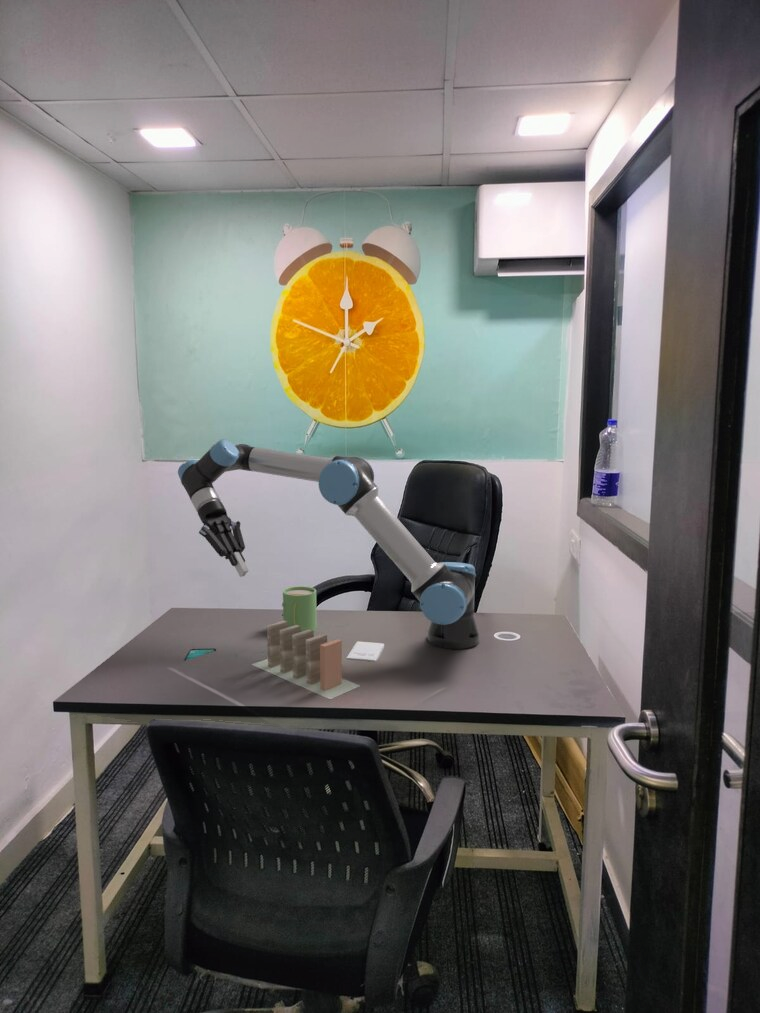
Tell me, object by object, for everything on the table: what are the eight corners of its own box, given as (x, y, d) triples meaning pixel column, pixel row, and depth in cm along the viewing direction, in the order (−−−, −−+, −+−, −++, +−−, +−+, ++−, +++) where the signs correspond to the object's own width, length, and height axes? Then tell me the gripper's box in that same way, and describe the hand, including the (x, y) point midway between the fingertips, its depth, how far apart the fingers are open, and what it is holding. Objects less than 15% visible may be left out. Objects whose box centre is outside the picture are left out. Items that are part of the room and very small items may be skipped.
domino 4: (306, 682, 157) (305, 639, 156) (323, 675, 162) (322, 633, 160) (310, 684, 156) (310, 641, 155) (327, 677, 160) (327, 635, 159)
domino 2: (280, 671, 164) (279, 630, 162) (297, 665, 168) (296, 624, 166) (284, 673, 163) (283, 631, 161) (301, 667, 167) (300, 626, 165)
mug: (287, 622, 204) (287, 585, 202) (319, 624, 202) (319, 587, 200) (275, 636, 191) (275, 597, 189) (310, 638, 190) (309, 598, 188)
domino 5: (320, 688, 154) (320, 645, 152) (337, 681, 158) (337, 638, 157) (324, 690, 153) (324, 646, 151) (341, 683, 157) (341, 640, 155)
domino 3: (293, 677, 161) (292, 634, 159) (309, 670, 165) (309, 629, 163) (297, 678, 160) (296, 636, 158) (314, 672, 164) (313, 630, 162)
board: (251, 666, 169) (251, 664, 169) (281, 655, 176) (281, 653, 176) (330, 701, 149) (330, 699, 149) (360, 688, 156) (360, 685, 156)
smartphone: (178, 670, 165) (190, 648, 180) (178, 673, 165) (190, 651, 180) (206, 669, 166) (216, 648, 180) (206, 672, 166) (216, 650, 181)
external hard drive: (384, 648, 183) (375, 665, 171) (356, 646, 185) (345, 662, 173) (384, 643, 183) (375, 659, 171) (356, 641, 185) (345, 657, 173)
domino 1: (267, 666, 167) (267, 625, 166) (284, 660, 172) (284, 620, 170) (271, 667, 166) (271, 627, 165) (288, 661, 170) (288, 621, 169)
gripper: (223, 512, 194) (257, 577, 185) (184, 517, 184) (218, 585, 175) (233, 497, 189) (269, 562, 181) (194, 501, 180) (229, 570, 171)
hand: (244, 573), depth 178 cm, fingers closed
